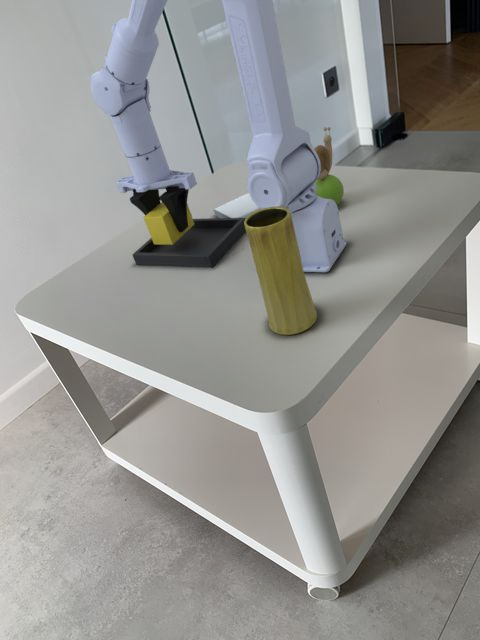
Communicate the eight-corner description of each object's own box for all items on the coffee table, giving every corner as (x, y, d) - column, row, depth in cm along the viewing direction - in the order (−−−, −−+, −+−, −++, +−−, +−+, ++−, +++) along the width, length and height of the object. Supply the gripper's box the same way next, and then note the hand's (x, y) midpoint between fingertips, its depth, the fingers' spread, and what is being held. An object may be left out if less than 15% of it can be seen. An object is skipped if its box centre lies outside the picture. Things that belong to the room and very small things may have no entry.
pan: (248, 228, 94) (245, 217, 93) (212, 267, 86) (208, 256, 85) (176, 228, 102) (172, 218, 100) (136, 265, 93) (131, 254, 92)
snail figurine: (353, 197, 94) (342, 125, 86) (337, 214, 90) (324, 141, 83) (325, 196, 97) (312, 127, 89) (308, 213, 93) (293, 142, 86)
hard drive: (215, 216, 102) (270, 189, 105) (236, 227, 96) (294, 198, 99) (212, 208, 101) (269, 181, 104) (233, 219, 95) (292, 190, 98)
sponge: (194, 224, 95) (185, 197, 92) (172, 244, 90) (162, 216, 88) (176, 224, 97) (166, 198, 94) (154, 244, 92) (143, 217, 89)
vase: (314, 334, 66) (289, 225, 57) (265, 337, 68) (234, 233, 59) (320, 304, 70) (297, 200, 62) (274, 309, 72) (246, 208, 64)
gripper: (93, 163, 86) (126, 241, 94) (165, 157, 79) (195, 241, 87) (120, 146, 91) (149, 221, 99) (191, 138, 84) (217, 220, 92)
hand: (172, 229), depth 93 cm, fingers closed on sponge, 4 cm apart
